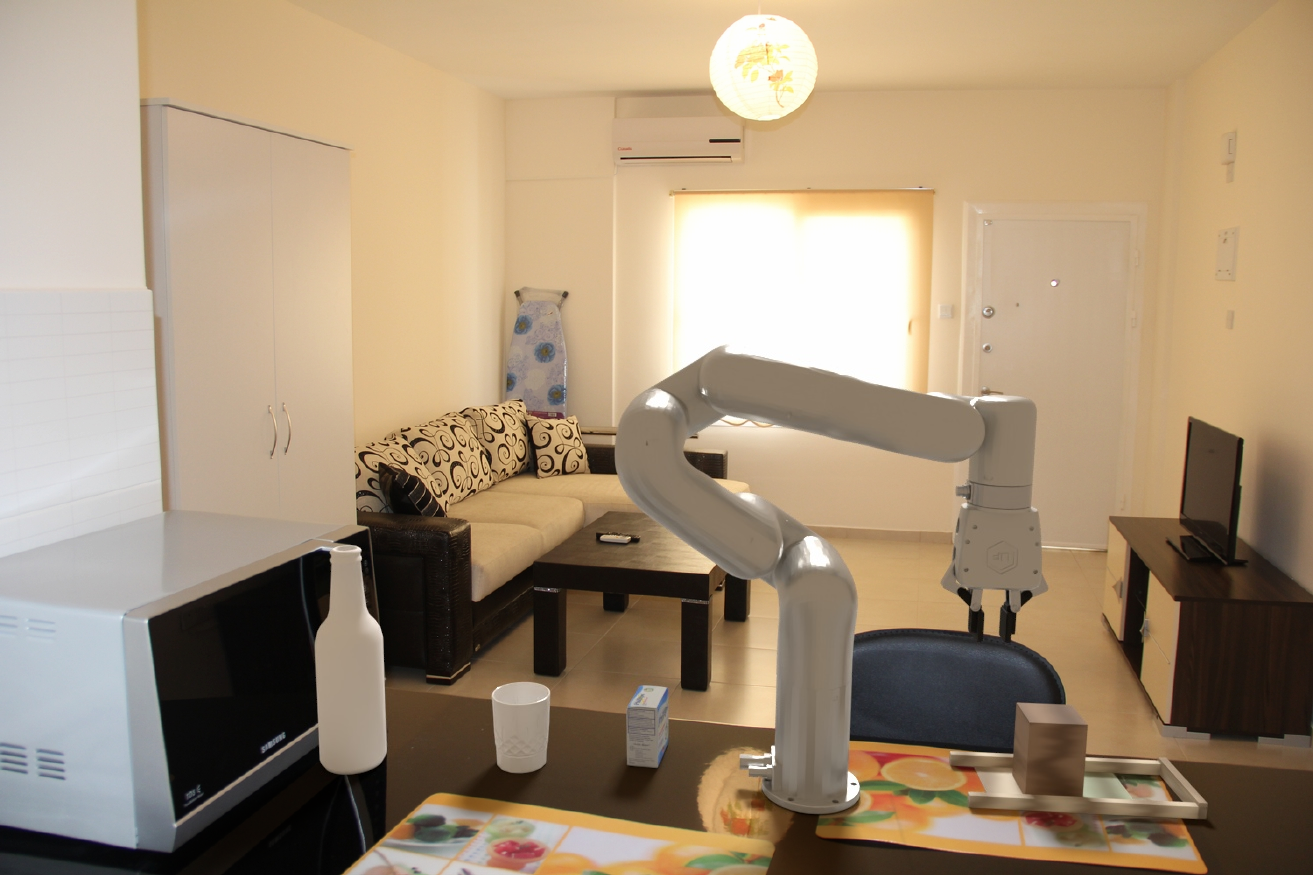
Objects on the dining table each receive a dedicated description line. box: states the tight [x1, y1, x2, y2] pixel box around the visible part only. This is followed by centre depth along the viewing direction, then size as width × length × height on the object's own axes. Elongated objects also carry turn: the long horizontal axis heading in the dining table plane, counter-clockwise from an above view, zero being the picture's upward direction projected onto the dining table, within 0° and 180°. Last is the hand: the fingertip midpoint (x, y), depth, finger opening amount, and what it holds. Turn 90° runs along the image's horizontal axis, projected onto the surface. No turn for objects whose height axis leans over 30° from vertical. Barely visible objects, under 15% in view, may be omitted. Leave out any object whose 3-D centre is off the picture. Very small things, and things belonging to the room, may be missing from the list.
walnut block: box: [1012, 702, 1089, 797], centre depth 126 cm, size 7×6×10 cm
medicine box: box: [625, 684, 669, 769], centre depth 138 cm, size 8×4×9 cm, turn 168°
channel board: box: [948, 750, 1209, 820], centre depth 127 cm, size 28×12×4 cm, turn 85°
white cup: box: [491, 681, 551, 774], centre depth 135 cm, size 8×8×10 cm
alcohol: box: [314, 544, 388, 775], centre depth 134 cm, size 9×9×30 cm
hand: (990, 637), depth 125 cm, fingers open, 2 cm apart
